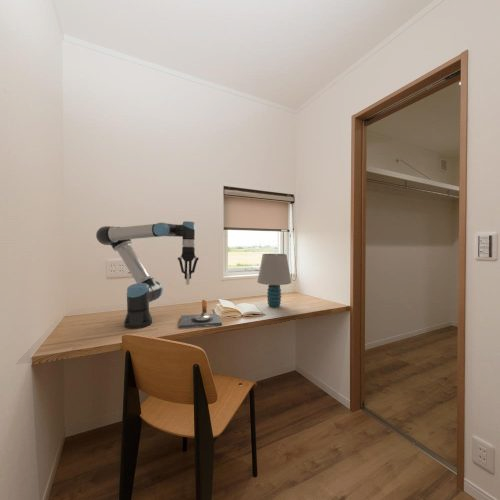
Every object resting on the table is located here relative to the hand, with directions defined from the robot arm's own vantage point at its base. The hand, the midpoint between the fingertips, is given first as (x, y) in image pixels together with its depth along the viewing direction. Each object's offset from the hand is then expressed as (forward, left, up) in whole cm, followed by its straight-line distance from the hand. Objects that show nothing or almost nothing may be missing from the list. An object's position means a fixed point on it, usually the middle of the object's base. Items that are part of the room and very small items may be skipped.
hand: (187, 284), depth 156 cm
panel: (+8, -6, -22) cm, 24 cm away
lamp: (+63, +19, -22) cm, 69 cm away
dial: (+9, -5, -20) cm, 23 cm away
